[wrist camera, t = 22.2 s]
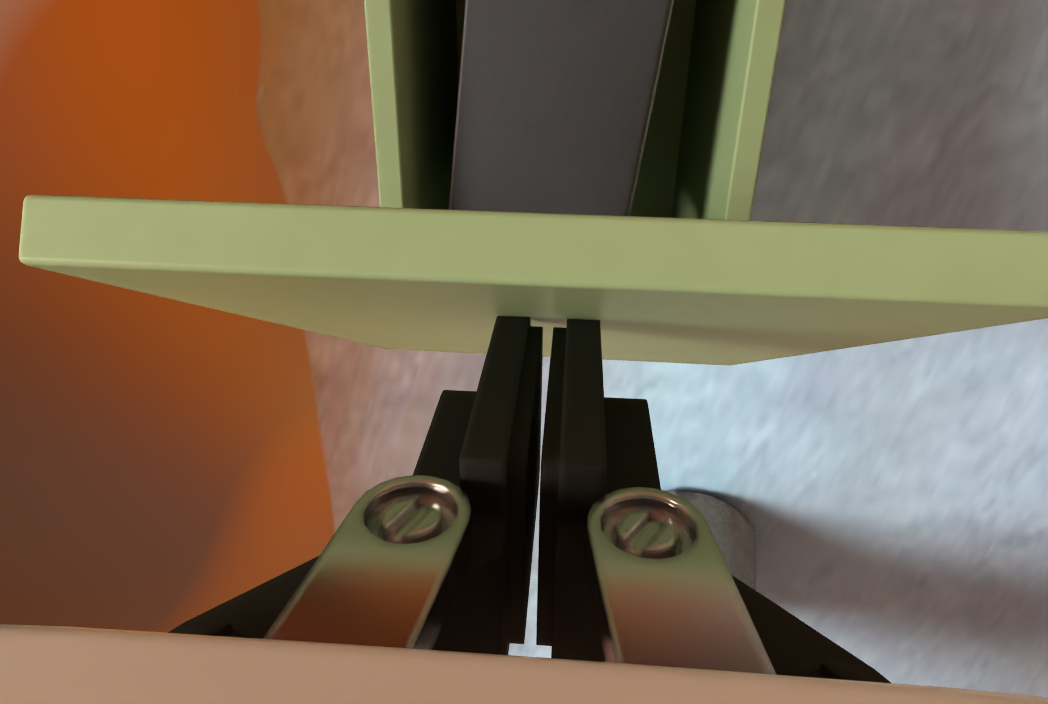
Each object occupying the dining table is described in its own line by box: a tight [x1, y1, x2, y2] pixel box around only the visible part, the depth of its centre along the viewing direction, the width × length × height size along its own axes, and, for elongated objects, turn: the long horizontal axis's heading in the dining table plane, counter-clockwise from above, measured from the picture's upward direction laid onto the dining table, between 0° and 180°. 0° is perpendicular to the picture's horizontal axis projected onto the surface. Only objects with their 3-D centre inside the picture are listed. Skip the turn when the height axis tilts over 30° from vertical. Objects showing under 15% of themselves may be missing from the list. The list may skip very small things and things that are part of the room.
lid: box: [19, 195, 1048, 365], centre depth 16 cm, size 16×12×1 cm
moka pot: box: [667, 491, 756, 591], centre depth 35 cm, size 10×15×20 cm, turn 118°
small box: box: [449, 0, 674, 216], centre depth 26 cm, size 11×6×10 cm, turn 173°
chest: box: [364, 0, 786, 221], centre depth 26 cm, size 16×12×12 cm
